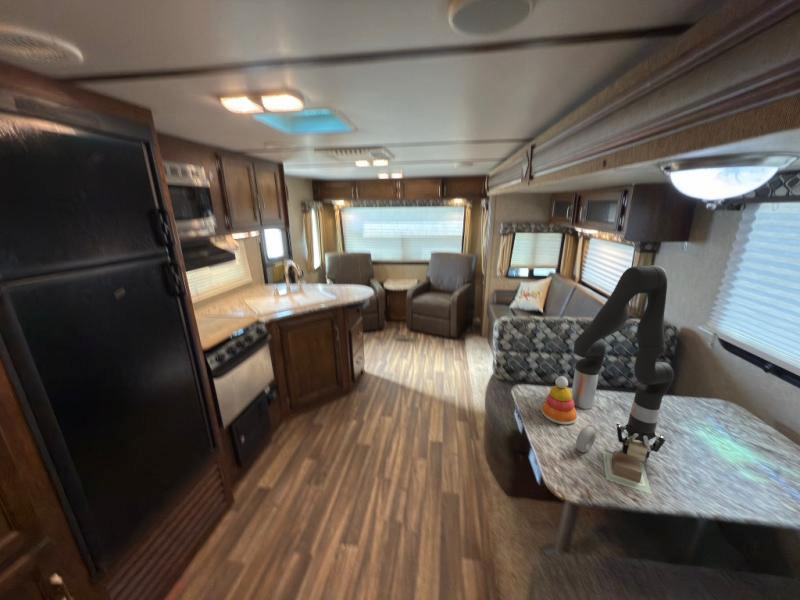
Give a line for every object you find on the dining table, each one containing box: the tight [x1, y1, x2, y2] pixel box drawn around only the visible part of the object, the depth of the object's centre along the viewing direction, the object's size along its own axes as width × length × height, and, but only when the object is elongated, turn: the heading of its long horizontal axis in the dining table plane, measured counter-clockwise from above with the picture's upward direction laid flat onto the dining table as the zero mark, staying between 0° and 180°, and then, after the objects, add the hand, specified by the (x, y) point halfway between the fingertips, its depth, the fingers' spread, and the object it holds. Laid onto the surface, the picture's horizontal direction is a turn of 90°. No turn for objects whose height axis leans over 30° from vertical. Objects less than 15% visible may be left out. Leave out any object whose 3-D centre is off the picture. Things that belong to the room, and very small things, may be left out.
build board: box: [602, 450, 653, 495], centre depth 103 cm, size 14×12×1 cm
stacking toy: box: [540, 375, 579, 425], centre depth 130 cm, size 14×14×20 cm
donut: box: [575, 426, 597, 453], centre depth 112 cm, size 10×4×10 cm, turn 123°
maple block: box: [627, 440, 648, 463], centre depth 109 cm, size 5×5×6 cm
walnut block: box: [612, 450, 642, 482], centre depth 103 cm, size 7×7×4 cm
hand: (634, 454), depth 110 cm, fingers closed on maple block, 5 cm apart
